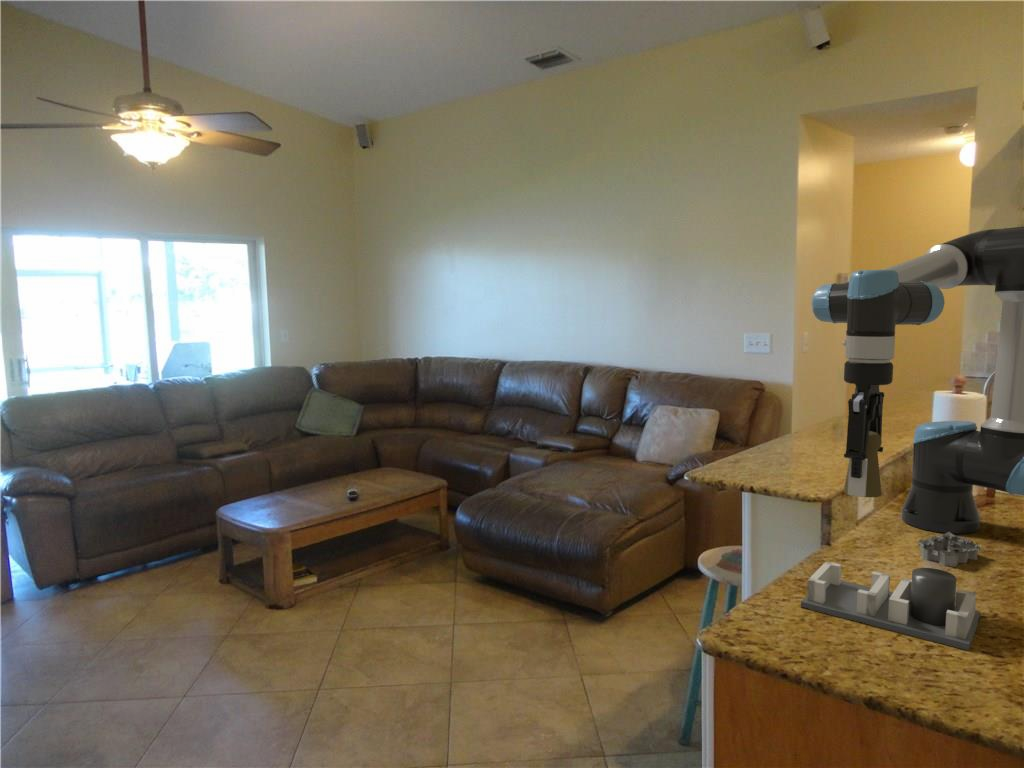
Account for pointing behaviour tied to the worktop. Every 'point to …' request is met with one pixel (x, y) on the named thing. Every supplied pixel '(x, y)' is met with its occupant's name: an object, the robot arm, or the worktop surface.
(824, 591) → the socket board
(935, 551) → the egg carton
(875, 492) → the cork
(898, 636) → the worktop surface
